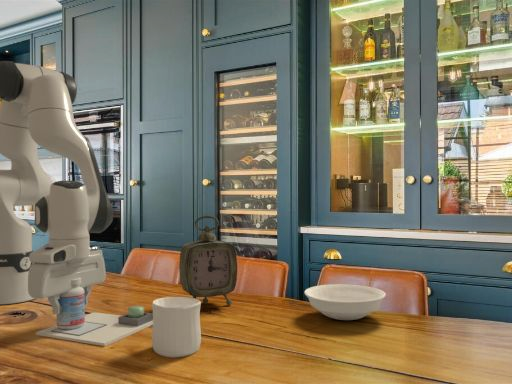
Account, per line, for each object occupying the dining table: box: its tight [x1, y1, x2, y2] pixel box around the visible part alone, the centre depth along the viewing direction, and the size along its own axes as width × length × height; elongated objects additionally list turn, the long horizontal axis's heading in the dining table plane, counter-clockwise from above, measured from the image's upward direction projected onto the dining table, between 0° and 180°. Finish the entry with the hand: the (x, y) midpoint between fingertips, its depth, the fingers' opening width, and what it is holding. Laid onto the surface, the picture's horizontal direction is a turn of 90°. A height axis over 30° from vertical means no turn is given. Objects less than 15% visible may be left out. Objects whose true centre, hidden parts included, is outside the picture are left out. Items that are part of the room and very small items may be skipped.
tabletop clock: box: [178, 215, 238, 306], centre depth 127 cm, size 14×9×25 cm, turn 114°
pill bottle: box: [56, 278, 86, 329], centre depth 107 cm, size 6×6×11 cm
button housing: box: [118, 311, 153, 326], centre depth 110 cm, size 6×6×2 cm
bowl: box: [304, 283, 387, 321], centre depth 113 cm, size 20×20×6 cm
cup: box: [151, 296, 202, 358], centre depth 92 cm, size 10×10×10 cm
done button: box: [127, 305, 145, 318], centre depth 110 cm, size 4×4×2 cm
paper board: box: [35, 311, 153, 347], centre depth 107 cm, size 20×18×1 cm
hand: (70, 309), depth 107 cm, fingers closed on pill bottle, 6 cm apart
